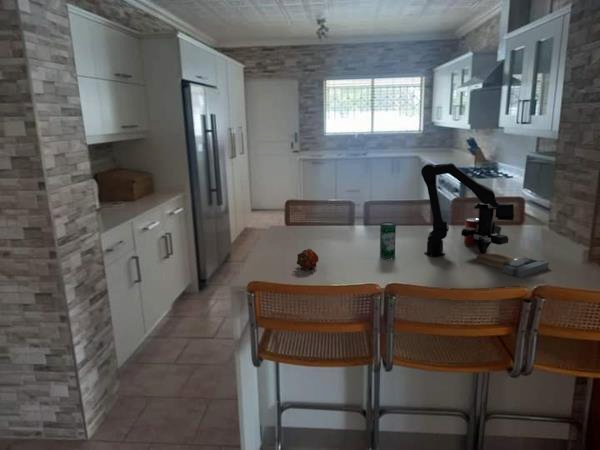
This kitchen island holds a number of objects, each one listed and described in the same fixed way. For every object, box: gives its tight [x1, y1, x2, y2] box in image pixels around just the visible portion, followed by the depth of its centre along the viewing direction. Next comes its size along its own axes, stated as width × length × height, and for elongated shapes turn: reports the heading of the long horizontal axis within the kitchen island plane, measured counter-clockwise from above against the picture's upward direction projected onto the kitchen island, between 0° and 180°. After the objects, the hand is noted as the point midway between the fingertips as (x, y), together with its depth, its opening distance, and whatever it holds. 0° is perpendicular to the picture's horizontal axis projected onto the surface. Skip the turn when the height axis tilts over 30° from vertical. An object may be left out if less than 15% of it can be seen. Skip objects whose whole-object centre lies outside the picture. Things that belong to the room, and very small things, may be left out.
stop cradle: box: [502, 257, 550, 279], centre depth 171 cm, size 18×7×2 cm, turn 122°
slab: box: [475, 250, 518, 270], centre depth 181 cm, size 10×12×3 cm
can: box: [379, 221, 397, 260], centre depth 190 cm, size 6×6×15 cm
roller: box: [506, 256, 530, 268], centre depth 174 cm, size 9×4×4 cm, turn 122°
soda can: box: [463, 217, 478, 248], centre depth 205 cm, size 7×7×12 cm
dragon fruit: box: [296, 248, 319, 270], centre depth 181 cm, size 8×8×12 cm
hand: (482, 255), depth 187 cm, fingers closed
